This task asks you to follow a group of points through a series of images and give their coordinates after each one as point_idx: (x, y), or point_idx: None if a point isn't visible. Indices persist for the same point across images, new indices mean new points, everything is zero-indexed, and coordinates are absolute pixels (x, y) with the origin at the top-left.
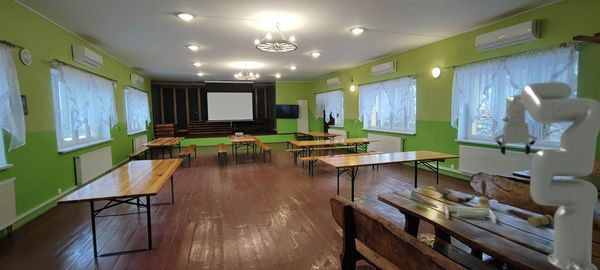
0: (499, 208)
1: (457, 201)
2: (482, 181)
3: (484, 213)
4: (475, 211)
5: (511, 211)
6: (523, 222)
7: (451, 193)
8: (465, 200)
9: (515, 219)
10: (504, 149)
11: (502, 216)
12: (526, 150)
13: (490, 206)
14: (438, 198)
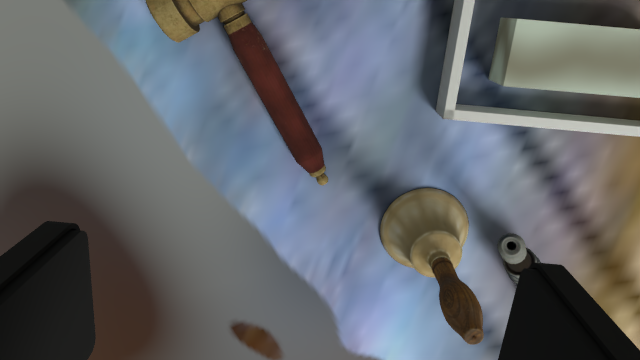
0: (346, 221)
1: None
2: (480, 325)
3: (514, 19)
4: (569, 26)
5: (315, 142)
6: (301, 5)
7: None
8: (533, 254)
9: (326, 49)
10: (606, 336)
11: (379, 87)
12: (40, 318)
13: (399, 214)
14: None
